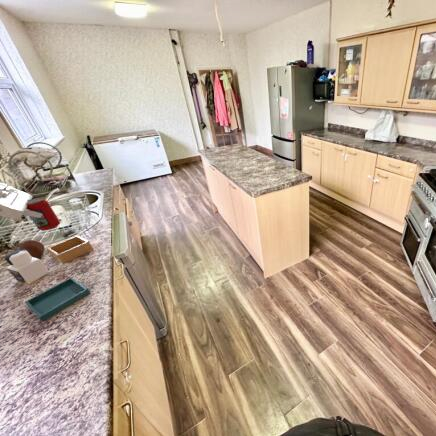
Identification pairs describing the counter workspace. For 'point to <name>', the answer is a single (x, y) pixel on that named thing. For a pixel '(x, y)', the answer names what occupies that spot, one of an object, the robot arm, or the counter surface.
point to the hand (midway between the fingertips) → (43, 211)
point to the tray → (57, 298)
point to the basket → (70, 249)
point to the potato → (33, 248)
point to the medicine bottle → (25, 266)
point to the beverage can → (48, 216)
